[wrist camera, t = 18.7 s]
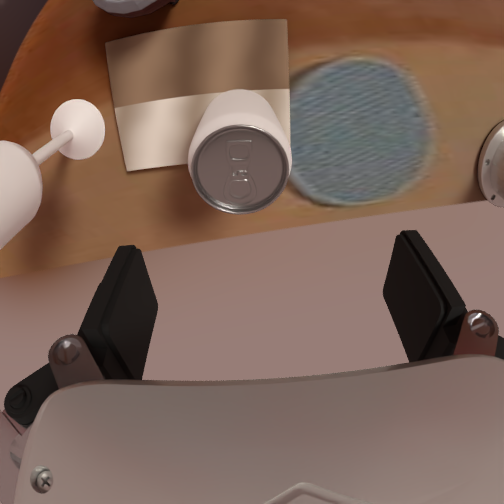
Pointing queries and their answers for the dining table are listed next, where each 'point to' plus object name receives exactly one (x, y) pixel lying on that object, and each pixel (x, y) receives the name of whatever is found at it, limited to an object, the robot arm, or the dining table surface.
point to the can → (239, 154)
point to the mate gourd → (131, 6)
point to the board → (191, 82)
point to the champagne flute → (27, 165)
